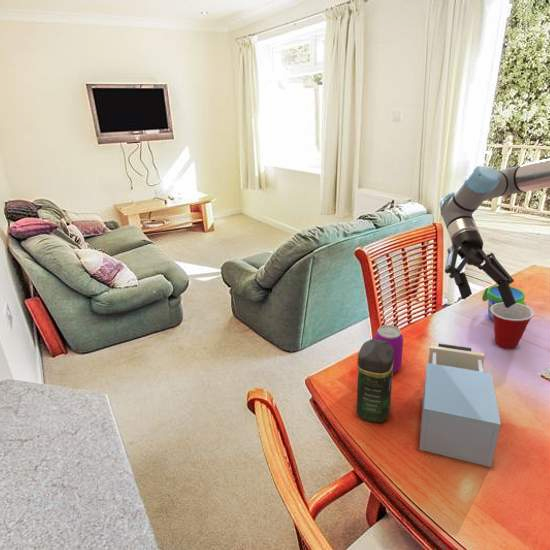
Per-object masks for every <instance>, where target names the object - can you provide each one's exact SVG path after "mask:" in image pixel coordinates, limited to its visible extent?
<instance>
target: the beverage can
mask: <svg viewBox="0 0 550 550" xmlns="http://www.w3.org/2000/svg"><path fill="white" fill-rule="evenodd" d="M374 339H376V340H381V341H386V342H388V343H389V344H390V345H391V346H392V347H393V350H394V356H393V359H394V360H393V373H396V372H398V371H399V370H401V368H402V363H403V362H402V361H403V350H404V349H403V348H404V337H403V333H402V330H401V329H400V328H399V327H397V326H395V325H390V324H383V325H381V326H379V327H378V328H377V330H376V333H375V334H374Z"/></svg>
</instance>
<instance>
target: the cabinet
mask: <svg viewBox="0 0 550 550" xmlns="http://www.w3.org/2000/svg"><path fill="white" fill-rule="evenodd" d="M423 383H424V385H423V393H422V404H421V416H420V417H421V419H420V435H419V451H423V452H427V453H431V454H434V455H435V454H436V455H441V456H443V457H448V458H453V459H455V460H456V459H457V460H459V461H465V462H469V463H473V464H476V465H479V466H485V467H488V468H492V465H493V460H494V456H495V452H496V447H497V442H498V438H499V434H500V430H501V426H502V423H501V417H500V411H499V406H498V401H497V396H496V391H495V390H496V389H495V383H494V378H493V374H492V373H491V372H485V371H483V372H480V371H474V370H468V369H462V368H456V367H450V366H444V365H438V364H431V363H428V362H426V365H425V375H424V382H423Z"/></svg>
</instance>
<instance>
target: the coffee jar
mask: <svg viewBox="0 0 550 550" xmlns="http://www.w3.org/2000/svg"><path fill="white" fill-rule="evenodd" d="M393 356H394V350H393V347H392V346H391V345H390V344H389V343H388V342H386V341H381V340H376V339H375V338H371V339H369V340H366V341H364V343H363V344H362V345H361V347H360V349H359V351H358V354H357V382H356V384H357V385H356V386H357V387H356V406H355V407H356V409H355V411H356V415H357V416H359V417H360V418H361V419H363V420H365V421H368V422H371V423H381V422H385V421H386V420H387V418H388V416H389V413H390V410H391V399H392V398H391V397H392V386H393V373H394V372H393V360H394V359H393Z"/></svg>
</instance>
